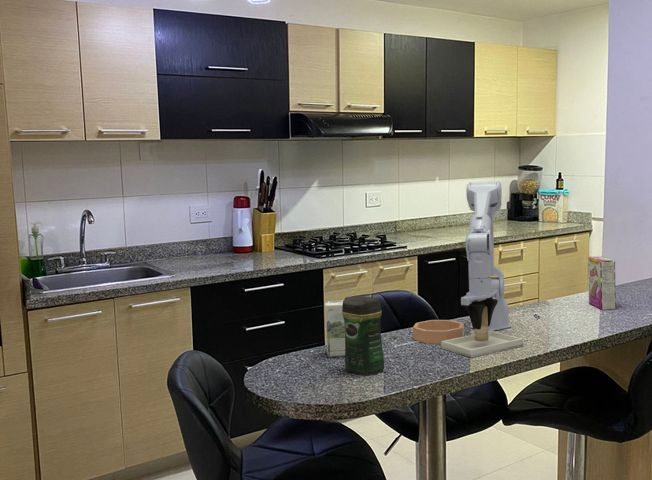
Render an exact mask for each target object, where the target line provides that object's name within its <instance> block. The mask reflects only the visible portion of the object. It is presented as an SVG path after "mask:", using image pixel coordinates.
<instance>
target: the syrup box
mask: <svg viewBox="0 0 652 480" xmlns="http://www.w3.org/2000/svg"><path fill="white" fill-rule="evenodd" d="M343 301H344V299H343V300H328V301H327V300H326V301H324V314H325V315H324V316H325V318H324V319H325V331H326V332H325V333H326V353H327V357H328V358H341V357H342V358H343V357H344V358H345V324H344V318H343V314H342V305H343Z"/></svg>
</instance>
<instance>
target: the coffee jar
mask: <svg viewBox="0 0 652 480" xmlns="http://www.w3.org/2000/svg"><path fill="white" fill-rule="evenodd" d="M343 300H344V301H343V305H342V314H343V318H344V324H345V356H344V367H345V370H346V371H348V372H350V373H354V374H358V375H363V376H366V375H367V376H368V375H378V374H379V373H381V372H382V371H383V370H384V369H385V360H384V359H385V358H384V351H383V350H384V349H383V342H382V331H381V318H382V311H383V310H382V306H381V300H379V298H376V297H370V296H364V295H353V296H346V297H345V298H344V299H343Z"/></svg>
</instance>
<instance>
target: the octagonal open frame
mask: <svg viewBox="0 0 652 480" xmlns="http://www.w3.org/2000/svg"><path fill="white" fill-rule="evenodd" d="M464 336H465V324H464V322H459V321H455V320H452V319H429V320H425V321H419V322H416V323H415V324H414V325H413V327H412V338H413V340H415V341H417V342H421V343H422V344H423V343H424V344H434V345H436V344H439V345H440V344H441V341H445V340H450V339H454V338H459V337H464Z"/></svg>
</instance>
